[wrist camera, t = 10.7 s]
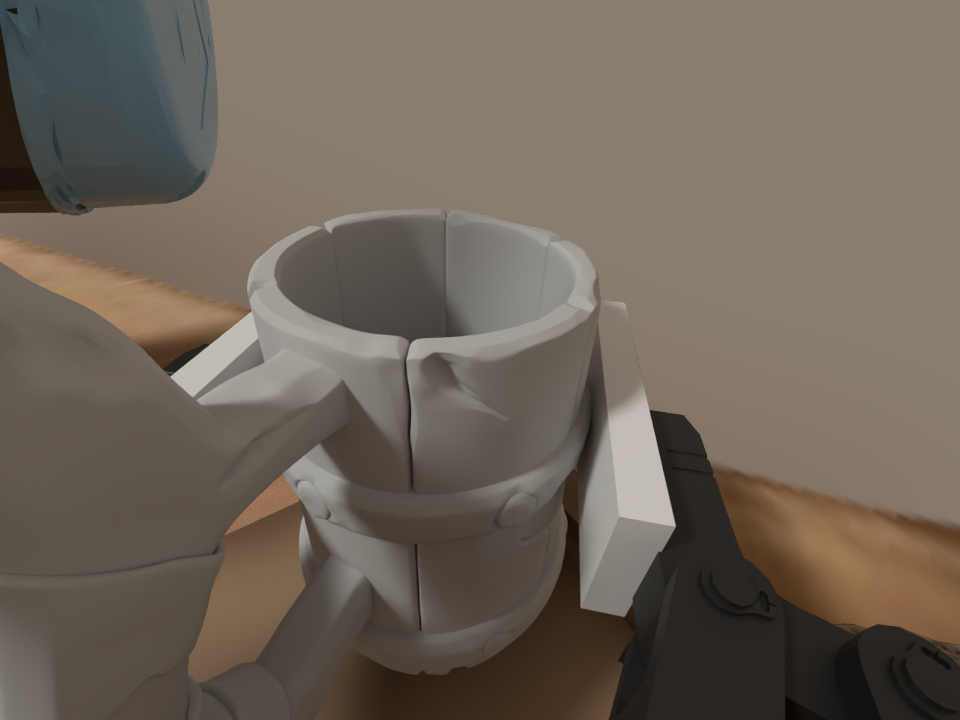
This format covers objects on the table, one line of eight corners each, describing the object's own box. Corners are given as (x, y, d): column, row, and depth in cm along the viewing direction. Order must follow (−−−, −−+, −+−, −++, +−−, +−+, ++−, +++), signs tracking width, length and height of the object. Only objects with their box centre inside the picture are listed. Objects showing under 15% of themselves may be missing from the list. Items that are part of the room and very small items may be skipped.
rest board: (147, 601, 14) (98, 545, 12) (480, 439, 21) (484, 386, 19) (203, 1251, 7) (101, 1388, 5) (694, 671, 14) (739, 624, 12)
